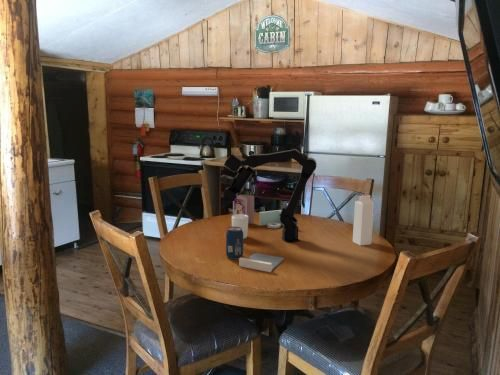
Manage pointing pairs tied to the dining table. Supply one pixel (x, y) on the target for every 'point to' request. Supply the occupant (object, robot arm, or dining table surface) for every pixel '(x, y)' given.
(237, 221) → the white cup
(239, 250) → the soda can
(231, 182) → the robot arm
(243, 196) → the pink printed box
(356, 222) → the milk
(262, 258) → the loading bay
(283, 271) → the dining table surface
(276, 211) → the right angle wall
